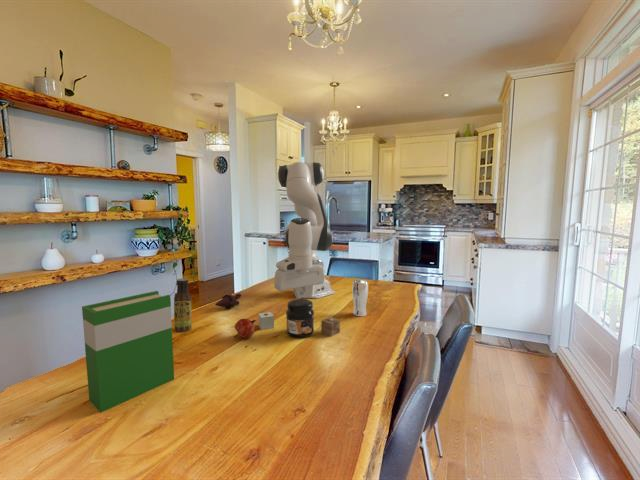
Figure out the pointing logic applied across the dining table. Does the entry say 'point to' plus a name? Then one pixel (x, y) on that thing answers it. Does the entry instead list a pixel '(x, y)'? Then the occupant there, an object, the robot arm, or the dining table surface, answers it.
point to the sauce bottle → (182, 306)
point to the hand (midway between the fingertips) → (300, 298)
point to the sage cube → (266, 320)
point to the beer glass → (360, 297)
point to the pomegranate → (245, 328)
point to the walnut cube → (330, 326)
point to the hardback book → (127, 347)
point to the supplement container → (300, 318)
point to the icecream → (229, 301)
